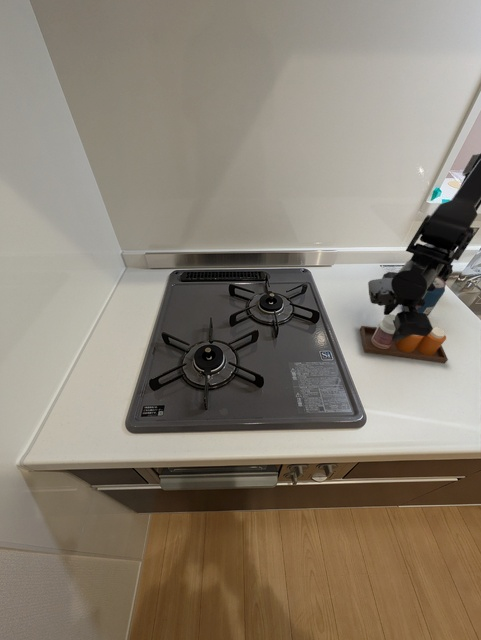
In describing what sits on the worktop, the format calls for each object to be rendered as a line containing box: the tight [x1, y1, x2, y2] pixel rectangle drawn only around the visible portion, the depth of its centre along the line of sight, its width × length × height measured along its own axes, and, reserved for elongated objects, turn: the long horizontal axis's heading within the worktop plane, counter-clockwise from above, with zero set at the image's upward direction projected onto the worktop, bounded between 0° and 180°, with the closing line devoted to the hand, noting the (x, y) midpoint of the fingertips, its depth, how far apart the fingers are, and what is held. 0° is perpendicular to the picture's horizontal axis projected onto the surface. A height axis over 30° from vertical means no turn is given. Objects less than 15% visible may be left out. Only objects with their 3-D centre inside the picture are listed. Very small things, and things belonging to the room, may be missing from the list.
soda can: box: [401, 277, 447, 317], centre depth 77 cm, size 7×7×12 cm
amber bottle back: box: [416, 326, 447, 355], centre depth 69 cm, size 4×4×6 cm
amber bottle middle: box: [396, 335, 424, 353], centre depth 69 cm, size 4×4×6 cm
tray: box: [359, 325, 449, 364], centre depth 71 cm, size 8×19×2 cm, turn 80°
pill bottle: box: [371, 313, 396, 349], centre depth 69 cm, size 5×5×8 cm
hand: (389, 327), depth 68 cm, fingers open, 9 cm apart
